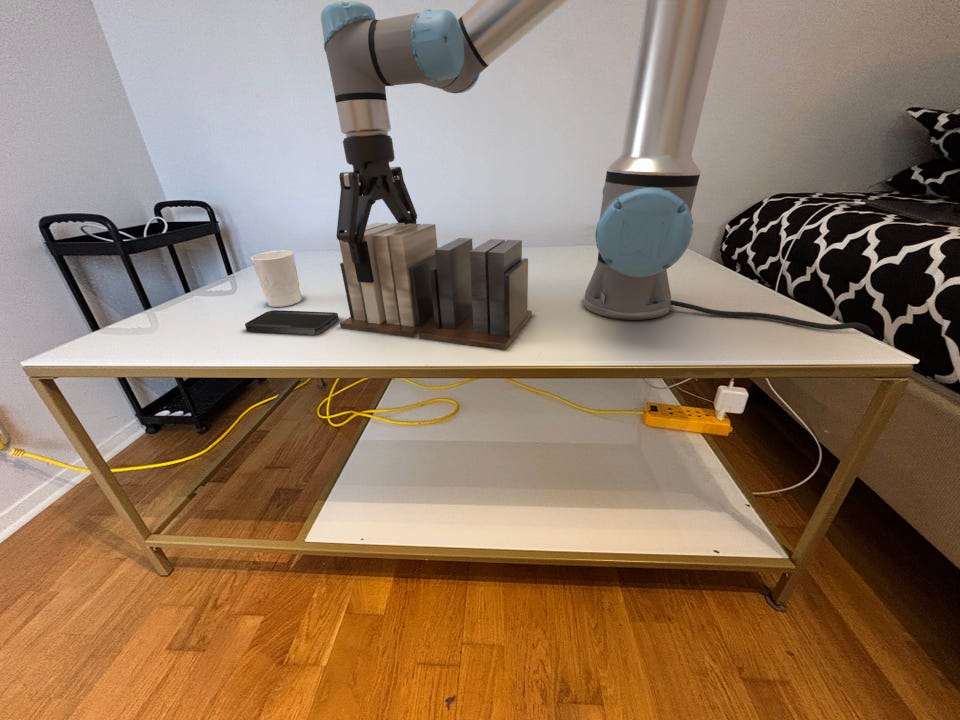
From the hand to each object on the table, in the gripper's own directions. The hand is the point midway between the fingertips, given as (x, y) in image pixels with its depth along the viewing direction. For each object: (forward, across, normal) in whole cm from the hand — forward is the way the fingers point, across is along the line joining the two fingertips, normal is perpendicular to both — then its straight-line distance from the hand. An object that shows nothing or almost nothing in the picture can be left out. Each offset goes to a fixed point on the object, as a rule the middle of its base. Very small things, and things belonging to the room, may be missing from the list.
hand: (388, 271), depth 73 cm
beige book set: (+9, 0, +1) cm, 9 cm away
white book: (+8, 0, -1) cm, 8 cm away
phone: (+8, +9, -16) cm, 21 cm away
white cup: (+8, -1, -28) cm, 30 cm away
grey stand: (+9, 0, +17) cm, 19 cm away
